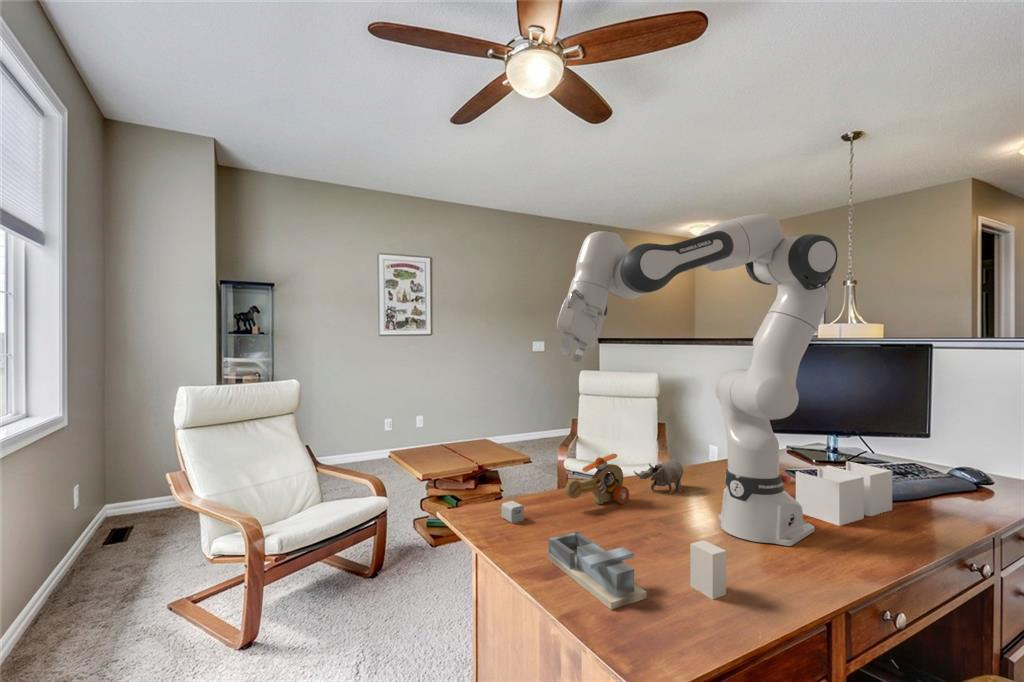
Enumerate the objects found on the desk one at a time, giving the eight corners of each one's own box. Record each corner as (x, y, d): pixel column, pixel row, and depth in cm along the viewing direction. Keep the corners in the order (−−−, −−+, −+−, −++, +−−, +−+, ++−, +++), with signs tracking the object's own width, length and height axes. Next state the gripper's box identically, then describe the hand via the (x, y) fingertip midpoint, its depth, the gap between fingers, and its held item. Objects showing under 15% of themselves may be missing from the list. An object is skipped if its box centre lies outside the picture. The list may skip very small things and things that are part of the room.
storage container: (839, 526, 116) (839, 482, 116) (795, 512, 126) (795, 471, 126) (892, 510, 127) (892, 470, 127) (848, 498, 137) (848, 461, 137)
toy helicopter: (632, 502, 133) (632, 454, 133) (577, 517, 121) (577, 464, 121) (611, 494, 139) (611, 448, 140) (557, 507, 128) (557, 458, 128)
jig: (582, 550, 102) (582, 522, 102) (651, 596, 83) (651, 563, 83) (543, 559, 97) (543, 530, 97) (606, 611, 79) (606, 575, 79)
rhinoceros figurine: (701, 482, 143) (676, 444, 141) (675, 513, 138) (648, 475, 136) (683, 477, 151) (659, 441, 148) (657, 507, 146) (632, 471, 143)
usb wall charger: (511, 524, 117) (511, 508, 117) (495, 515, 122) (495, 500, 122) (523, 520, 119) (523, 504, 119) (508, 512, 125) (508, 497, 125)
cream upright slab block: (703, 582, 88) (703, 540, 88) (726, 594, 84) (726, 550, 84) (690, 586, 87) (690, 543, 87) (712, 599, 82) (712, 554, 82)
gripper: (588, 288, 94) (570, 354, 93) (609, 313, 112) (595, 368, 111) (559, 284, 97) (542, 347, 95) (585, 308, 115) (570, 362, 114)
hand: (570, 359), depth 103 cm, fingers open, 8 cm apart
